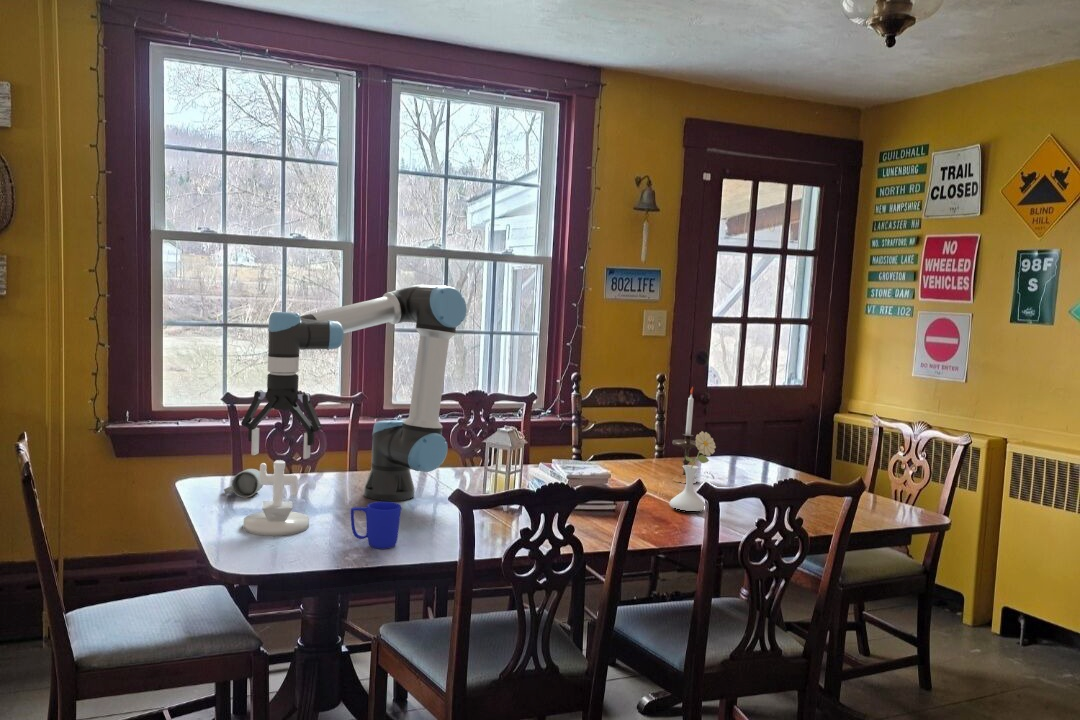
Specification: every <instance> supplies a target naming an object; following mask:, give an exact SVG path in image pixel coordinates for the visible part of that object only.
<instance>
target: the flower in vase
mask: <svg viewBox="0 0 1080 720" xmlns="http://www.w3.org/2000/svg"><path fill="white" fill-rule="evenodd" d="M694 441H695V442H696V447H697V450H698V452H697V456H696V458H695V459H694V458H690V457H689V456H688V457H687V456H686V460H687V461H690V462H689V463H692V465H691V464H690V465H689V464H688V465H684V464H683V465H682V467H683V468H682V469H683V470H685V473H686V484H685V486H684V489H683V490H682V491H681V492H679V494H677V495H675V496H674V497H673V498H671V500H670V501H669V502H668V504H669V506H670V507H671V508H673V509H674V508H676V509H675V510H677V509H680V510H686V511H700V510H701V511H700V512H703V511H705V510H704V506H705V504H706V503H705V502H704V500H703V499H701V497H700V496H699V495H698V494H697V493H696V492H695V491H694V484H693V480H694V478H695V475H696V473H697V471H698V470H699V469H700V467H699V466H697V465H695V463H696V461H697V460H698V461H699V462H700V463H702V464H706V463H708V462H709V461H710V460H709V458H708V457H711V455H713V454H714V453H715V452H716V451H715V449H716V448H717V446H716V443H715V441H714V438H713V437H711V434H710V433H708V432H707V431H705V432H704V431H703V430H701V432H699V434H698V433H697V434H696V436H695V440H694ZM700 454H701V455H700ZM680 510H679V511H680ZM702 510H703V511H702Z"/></svg>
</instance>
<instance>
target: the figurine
mask: <svg viewBox="0 0 1080 720" xmlns="http://www.w3.org/2000/svg"><path fill="white" fill-rule="evenodd" d="M285 469H286V461H284V460H283V459H282V460H281V459H276V460H275V461H273V473H268V472H267V464H266V462H262V463H260V465H259V471H260V475H259V480H260V484H262V485H263V486H273V487H272V488H273V489H272V492H273V493H272V501H271V500H270V501H269V500H267V501H262V508H261V509H262V512H264V514H265V516H266V518H267V520H268V521H286V520H287V518H288V516H289V514H290V512H292V509H293V501H290V500H288V501H287V500H284V486H290V495H291V496H297V495H298V490H299V489H298V488H299V478H298V475H297V474H294V473H291V474H290V473H285Z"/></svg>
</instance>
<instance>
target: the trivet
mask: <svg viewBox="0 0 1080 720" xmlns="http://www.w3.org/2000/svg"><path fill="white" fill-rule="evenodd" d="M309 527H310V517H309V516H308V515H306V514H304V513H301V512H298V511H297V512H296V511H291V512H290V514H289V516H288V518H287V520H286V521H268V520H267V518H266V516H265V514H264V511H260V512H256V513H255V512H254V513H251V514H249V515H246V516H245V517H244V518H243V525H242V528H243V530H244V531H245V532H247V533H250V534H254V535H259V536H265V537H267V536H271V537H272V536H273V537H276V536H277V537H278V536H290V535H295V534H300V533H302V532H305V531H307V530H308V529H309Z"/></svg>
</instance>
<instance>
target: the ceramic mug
mask: <svg viewBox="0 0 1080 720" xmlns="http://www.w3.org/2000/svg"><path fill="white" fill-rule="evenodd" d="M259 475H260V470H258V469H255V468H247V469H245V470H242V471H240V472H238V473H237V474H235V475H234V477H233V478H232V479H231V485H230V486H228V487H225V488H224V489H223V491H224V493H225V495H228V494H231V493H234V494H235V495H236V496H237V497H240V498H243V499H245V498H246V499H247V498H250V497H253V496H254V495H256V493H258V492H259V491H260V490H261V489H263V486H264V485H262V484H260V480H259Z"/></svg>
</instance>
